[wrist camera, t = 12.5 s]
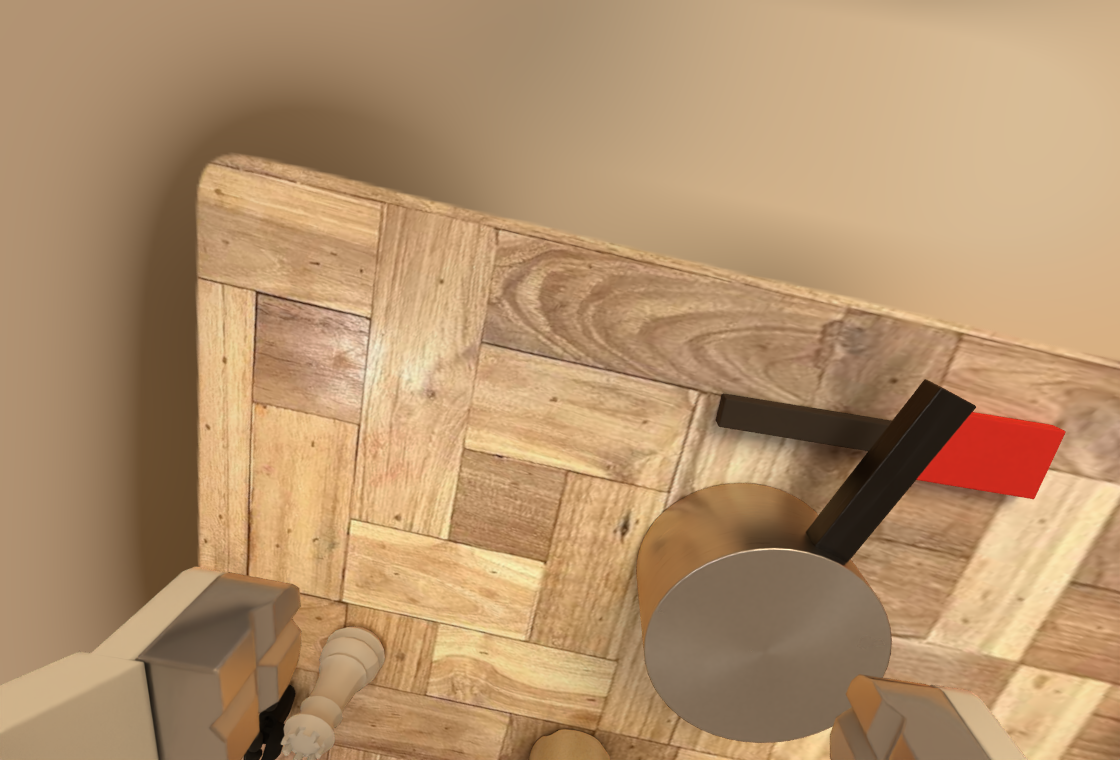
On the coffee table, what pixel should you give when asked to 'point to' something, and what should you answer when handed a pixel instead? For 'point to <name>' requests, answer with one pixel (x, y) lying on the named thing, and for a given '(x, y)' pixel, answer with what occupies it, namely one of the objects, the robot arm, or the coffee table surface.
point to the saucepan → (778, 589)
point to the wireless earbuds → (271, 728)
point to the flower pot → (568, 747)
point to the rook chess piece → (333, 691)
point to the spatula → (965, 461)
